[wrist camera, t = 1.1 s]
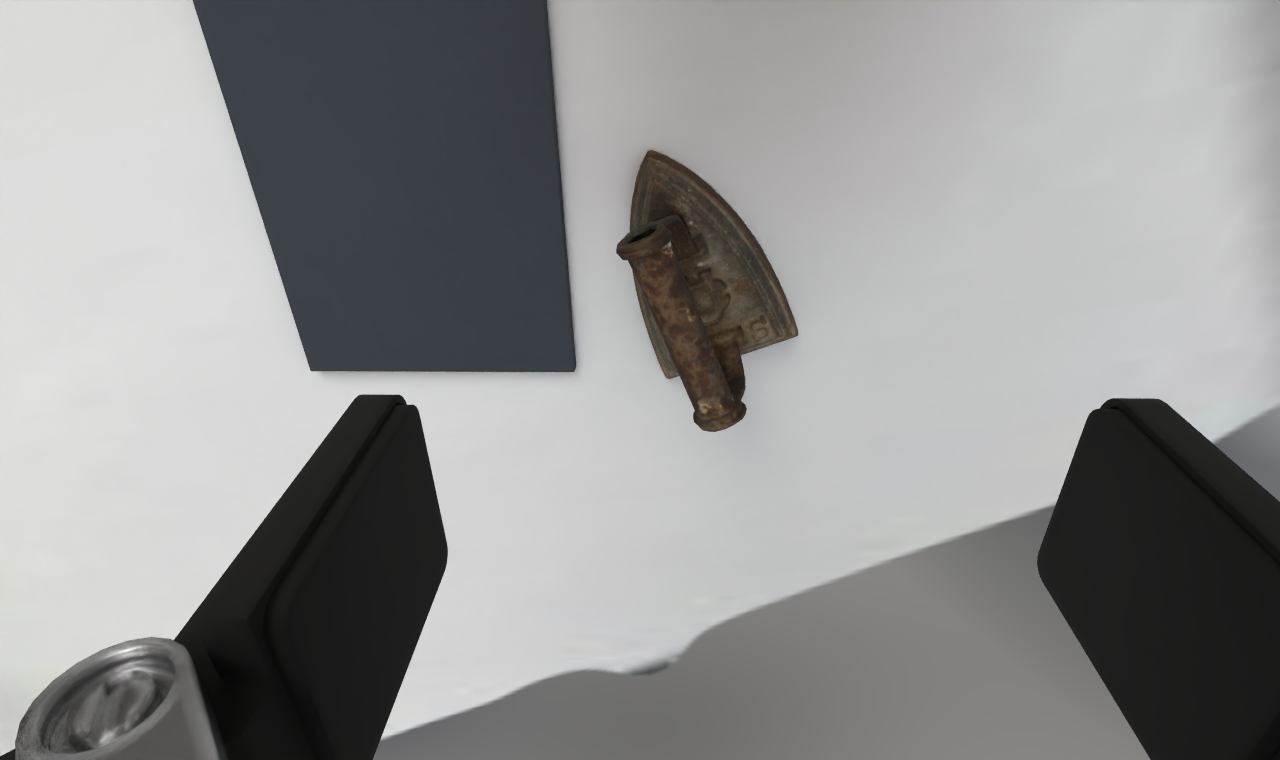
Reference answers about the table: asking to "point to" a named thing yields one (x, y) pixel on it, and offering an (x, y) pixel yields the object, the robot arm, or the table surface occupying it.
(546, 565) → the table surface
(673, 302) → the clothes iron
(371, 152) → the iron rest mat
